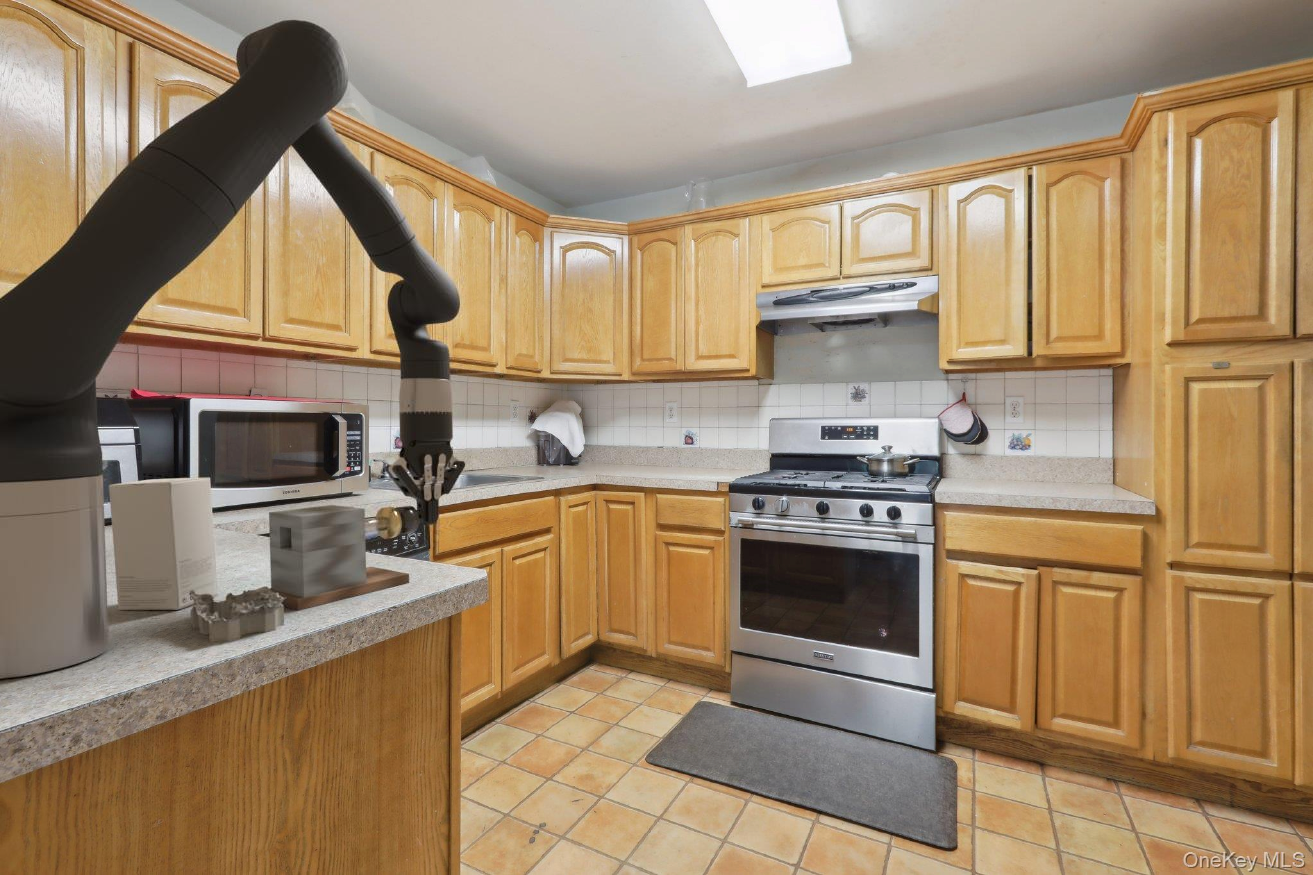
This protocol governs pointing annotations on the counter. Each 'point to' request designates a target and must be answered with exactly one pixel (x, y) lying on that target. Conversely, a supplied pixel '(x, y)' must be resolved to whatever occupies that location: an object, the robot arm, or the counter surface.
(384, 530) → the shaft
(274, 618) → the egg carton
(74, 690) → the counter surface
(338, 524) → the bearing block
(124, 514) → the skincare box
